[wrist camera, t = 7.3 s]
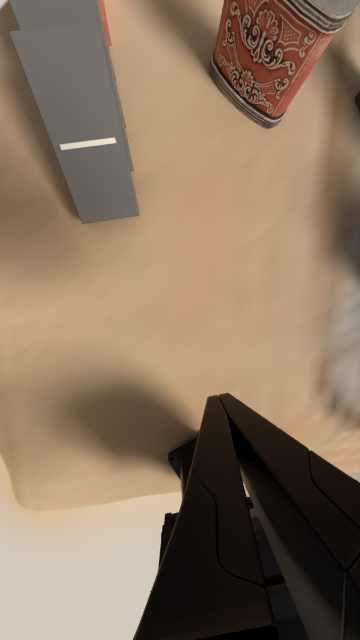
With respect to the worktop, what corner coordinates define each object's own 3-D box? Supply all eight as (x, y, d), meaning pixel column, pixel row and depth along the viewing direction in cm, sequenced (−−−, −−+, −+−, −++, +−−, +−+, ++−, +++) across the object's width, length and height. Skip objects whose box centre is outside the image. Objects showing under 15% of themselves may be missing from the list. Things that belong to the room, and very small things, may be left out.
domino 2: (138, 215, 17) (97, 22, 11) (82, 224, 17) (8, 31, 11) (139, 213, 18) (102, 39, 12) (87, 221, 18) (23, 47, 12)
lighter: (290, 106, 18) (445, -125, 8) (268, 138, 18) (390, -47, 8) (224, 39, 17) (307, -328, 7) (201, 74, 17) (248, -230, 7)
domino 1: (133, 169, 16) (83, -61, 10) (74, 178, 16) (-11, -52, 10) (133, 170, 18) (90, -34, 12) (80, 179, 17) (7, -26, 11)
